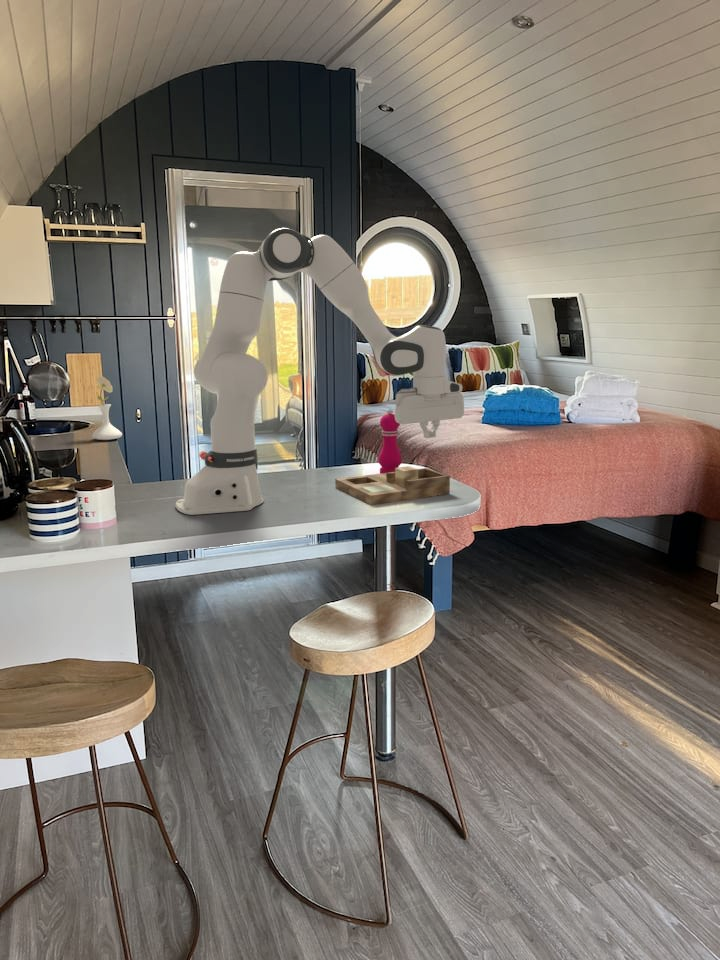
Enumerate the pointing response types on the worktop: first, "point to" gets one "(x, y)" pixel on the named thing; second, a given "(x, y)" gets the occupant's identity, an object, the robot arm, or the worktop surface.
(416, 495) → the board
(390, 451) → the pepper mill
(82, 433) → the worktop surface
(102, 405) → the flower in vase
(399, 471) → the maple block
